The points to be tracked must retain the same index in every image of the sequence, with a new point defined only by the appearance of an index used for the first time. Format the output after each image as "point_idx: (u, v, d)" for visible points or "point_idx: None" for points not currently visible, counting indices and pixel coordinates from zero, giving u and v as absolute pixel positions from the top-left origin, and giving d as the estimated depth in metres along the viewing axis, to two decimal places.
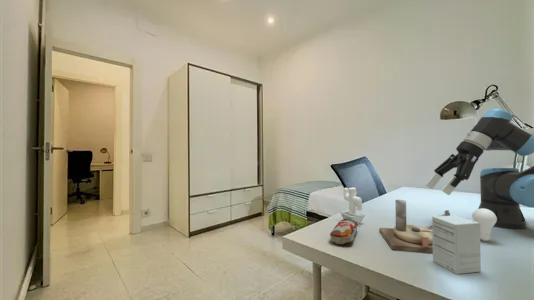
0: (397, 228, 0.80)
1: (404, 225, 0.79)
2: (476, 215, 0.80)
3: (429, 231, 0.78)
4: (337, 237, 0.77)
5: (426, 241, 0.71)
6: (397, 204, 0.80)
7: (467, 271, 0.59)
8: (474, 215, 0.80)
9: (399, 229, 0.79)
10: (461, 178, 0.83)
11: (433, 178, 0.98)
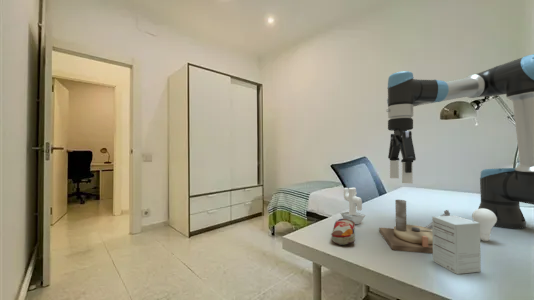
0: (397, 228, 0.80)
1: (404, 225, 0.79)
2: (476, 215, 0.80)
3: (429, 231, 0.78)
4: (340, 238, 0.76)
5: (426, 241, 0.71)
6: (397, 204, 0.80)
7: (467, 271, 0.59)
8: (474, 215, 0.80)
9: (399, 229, 0.79)
10: (409, 161, 0.72)
11: (392, 167, 0.87)
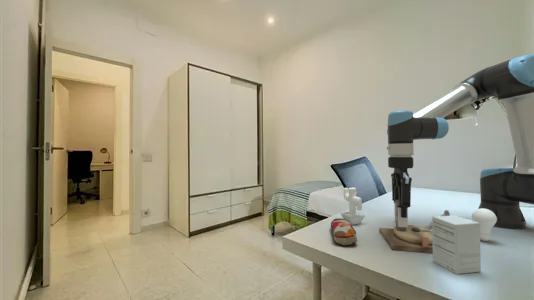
0: (397, 228, 0.80)
1: None
2: (476, 215, 0.80)
3: (429, 231, 0.78)
4: (343, 238, 0.76)
5: (426, 241, 0.71)
6: (397, 204, 0.80)
7: (467, 271, 0.59)
8: (474, 215, 0.80)
9: (399, 229, 0.79)
10: (405, 207, 0.76)
11: None
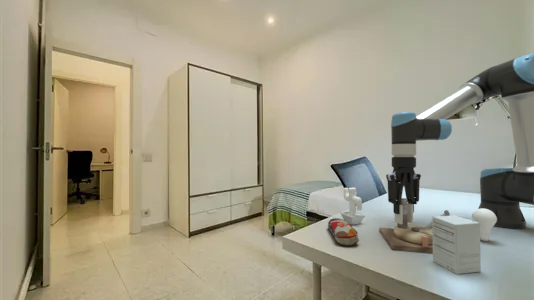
0: (397, 224, 0.84)
1: None
2: (476, 215, 0.80)
3: (427, 233, 0.76)
4: (346, 239, 0.75)
5: (426, 241, 0.71)
6: None
7: (467, 271, 0.59)
8: (474, 215, 0.80)
9: (397, 225, 0.83)
10: (393, 203, 0.82)
11: None
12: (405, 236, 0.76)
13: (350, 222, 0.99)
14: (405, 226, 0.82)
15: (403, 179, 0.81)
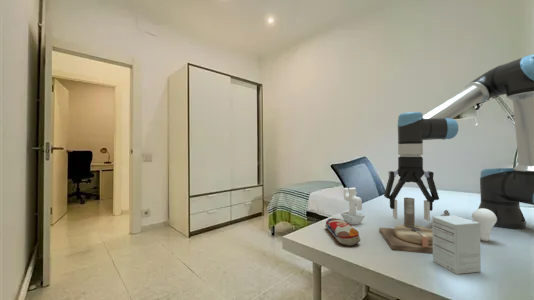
0: None
1: (405, 221, 0.83)
2: (476, 215, 0.80)
3: (420, 234, 0.75)
4: (348, 239, 0.75)
5: (426, 241, 0.71)
6: None
7: (467, 271, 0.59)
8: (474, 215, 0.80)
9: None
10: (388, 198, 0.85)
11: (424, 207, 0.83)
12: (395, 231, 0.80)
13: (350, 222, 0.99)
14: (409, 225, 0.82)
15: (404, 178, 0.83)
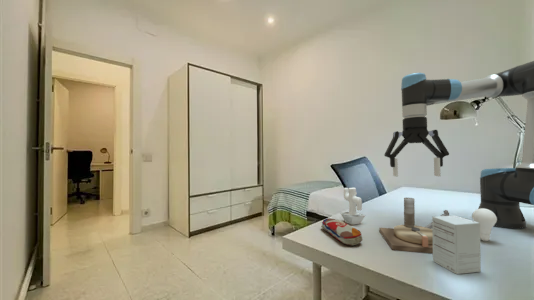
0: None
1: (405, 221, 0.83)
2: (476, 215, 0.80)
3: (420, 234, 0.75)
4: (353, 238, 0.75)
5: (426, 241, 0.71)
6: None
7: (467, 271, 0.59)
8: (474, 215, 0.80)
9: None
10: None
11: (434, 164, 0.84)
12: (395, 231, 0.80)
13: (350, 222, 0.99)
14: (409, 225, 0.82)
15: (408, 138, 0.84)
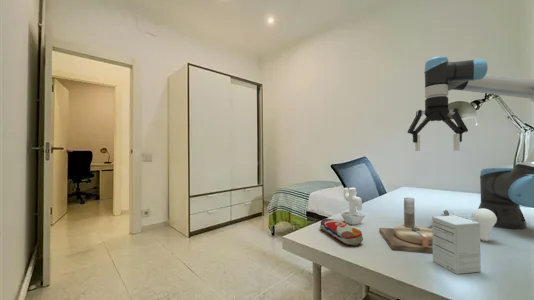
0: None
1: (405, 221, 0.83)
2: (476, 215, 0.80)
3: (420, 234, 0.75)
4: (354, 238, 0.75)
5: (426, 241, 0.71)
6: None
7: (467, 271, 0.59)
8: (474, 215, 0.80)
9: None
10: (411, 133, 0.96)
11: (454, 140, 0.93)
12: (395, 231, 0.80)
13: (350, 222, 0.99)
14: (409, 225, 0.82)
15: (431, 116, 0.93)
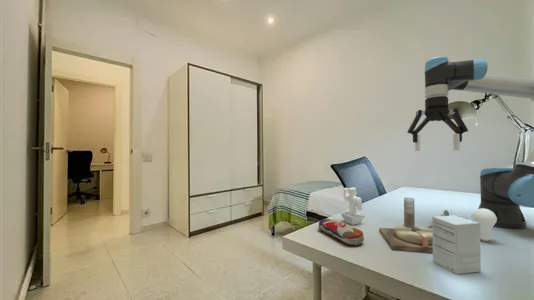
0: None
1: (405, 221, 0.83)
2: (476, 215, 0.80)
3: (420, 234, 0.75)
4: (356, 238, 0.76)
5: (426, 241, 0.71)
6: None
7: (467, 271, 0.59)
8: (474, 215, 0.80)
9: None
10: (411, 133, 0.96)
11: (454, 140, 0.93)
12: (395, 231, 0.80)
13: (350, 222, 0.99)
14: (409, 225, 0.82)
15: (431, 115, 0.93)
